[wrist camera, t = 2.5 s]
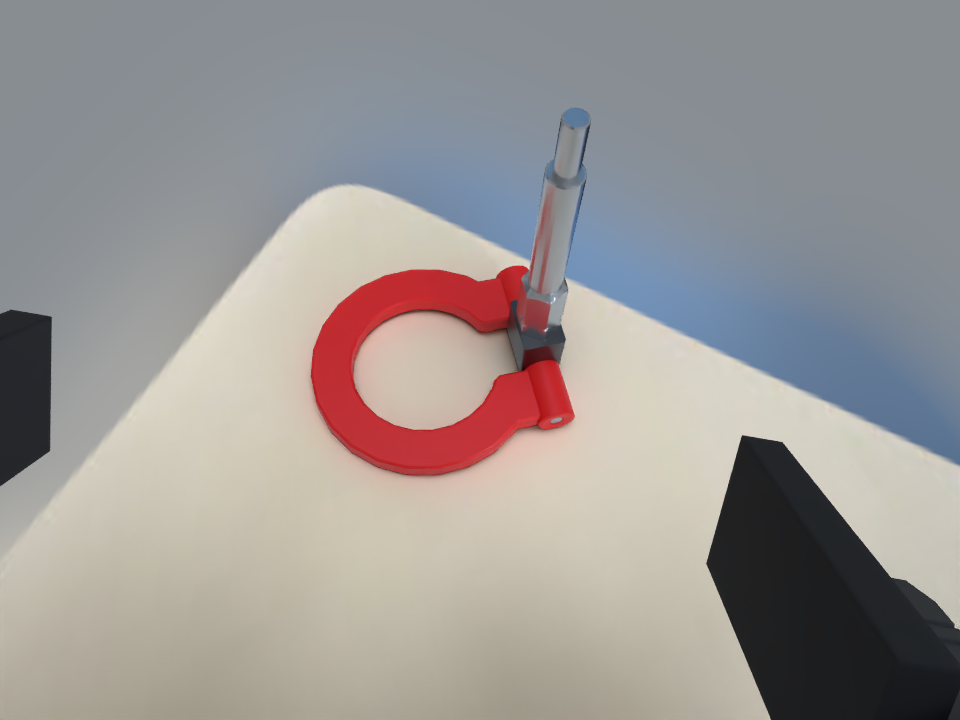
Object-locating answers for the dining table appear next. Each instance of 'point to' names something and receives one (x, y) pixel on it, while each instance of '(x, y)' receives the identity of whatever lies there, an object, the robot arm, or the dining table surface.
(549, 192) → the tow hook
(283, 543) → the dining table surface
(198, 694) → the dining table surface
